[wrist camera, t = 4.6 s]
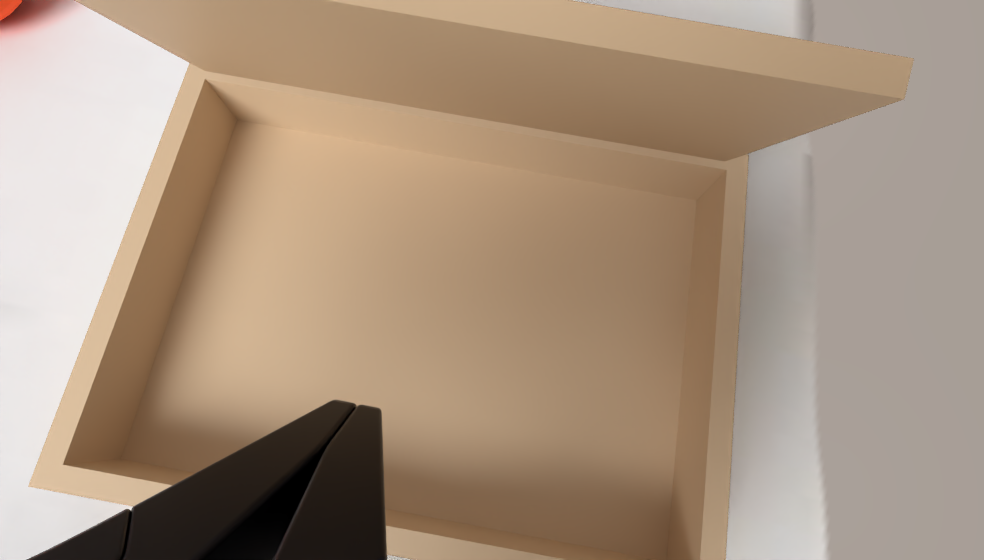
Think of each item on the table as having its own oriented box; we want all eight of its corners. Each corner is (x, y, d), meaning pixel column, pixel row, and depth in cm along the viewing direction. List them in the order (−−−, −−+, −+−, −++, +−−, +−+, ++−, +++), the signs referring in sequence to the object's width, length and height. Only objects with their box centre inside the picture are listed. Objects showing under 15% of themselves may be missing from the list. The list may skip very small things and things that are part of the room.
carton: (680, 585, 20) (722, 618, 16) (102, 476, 20) (28, 486, 17) (710, 192, 24) (748, 154, 21) (230, 108, 24) (191, 58, 21)
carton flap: (724, 161, 20) (904, 99, 11) (205, 71, 20) (-41, -63, 11) (729, 139, 20) (914, 58, 11) (207, 49, 20) (-38, -103, 11)
